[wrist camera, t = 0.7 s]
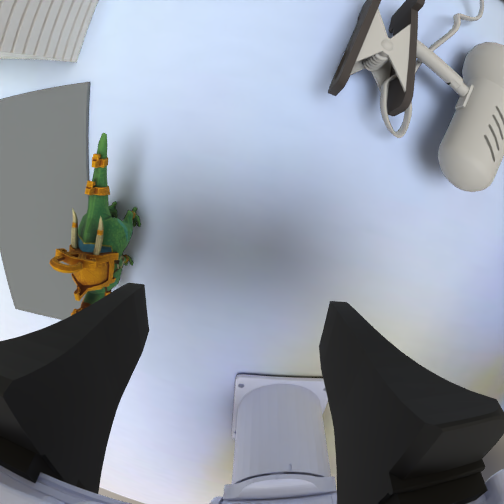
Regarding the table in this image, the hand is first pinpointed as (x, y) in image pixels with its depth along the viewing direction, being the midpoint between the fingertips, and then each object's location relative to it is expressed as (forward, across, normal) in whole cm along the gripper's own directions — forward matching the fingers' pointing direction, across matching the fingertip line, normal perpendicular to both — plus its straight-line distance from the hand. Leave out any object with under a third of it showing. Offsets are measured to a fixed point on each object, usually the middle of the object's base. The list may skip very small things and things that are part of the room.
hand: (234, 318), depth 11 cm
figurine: (+10, +8, 0) cm, 12 cm away
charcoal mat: (+9, +16, 0) cm, 18 cm away
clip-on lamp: (+10, -12, -14) cm, 21 cm away
